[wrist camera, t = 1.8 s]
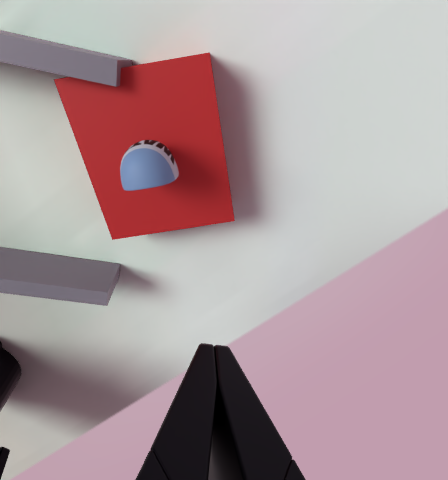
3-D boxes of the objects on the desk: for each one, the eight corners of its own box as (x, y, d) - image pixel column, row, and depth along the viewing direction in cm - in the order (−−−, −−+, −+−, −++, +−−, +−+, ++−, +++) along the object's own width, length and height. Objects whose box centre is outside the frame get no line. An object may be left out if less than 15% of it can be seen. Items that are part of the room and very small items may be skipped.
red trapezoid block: (77, 76, 16) (9, 84, 11) (209, 53, 16) (209, 50, 11) (124, 217, 20) (92, 277, 15) (231, 201, 20) (240, 254, 14)
